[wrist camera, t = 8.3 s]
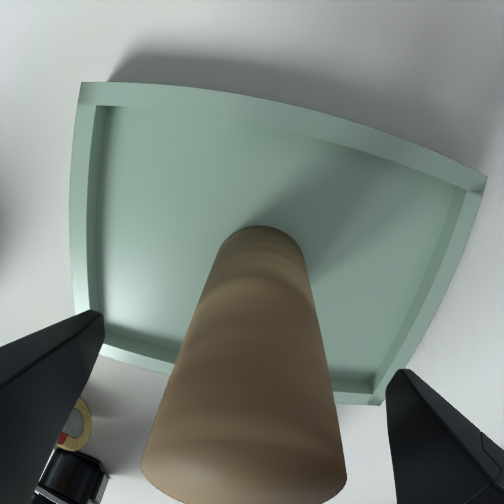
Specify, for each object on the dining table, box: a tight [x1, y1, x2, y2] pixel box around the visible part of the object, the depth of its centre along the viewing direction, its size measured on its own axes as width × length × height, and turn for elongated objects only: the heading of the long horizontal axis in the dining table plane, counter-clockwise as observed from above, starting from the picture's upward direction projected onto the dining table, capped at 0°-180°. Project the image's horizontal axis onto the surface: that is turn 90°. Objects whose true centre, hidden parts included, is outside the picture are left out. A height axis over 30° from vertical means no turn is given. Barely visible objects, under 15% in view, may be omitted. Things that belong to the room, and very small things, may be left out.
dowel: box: [140, 225, 347, 504], centre depth 9 cm, size 4×4×10 cm
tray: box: [69, 82, 488, 406], centre depth 14 cm, size 18×14×2 cm
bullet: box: [55, 397, 92, 451], centre depth 19 cm, size 14×5×5 cm, turn 99°
